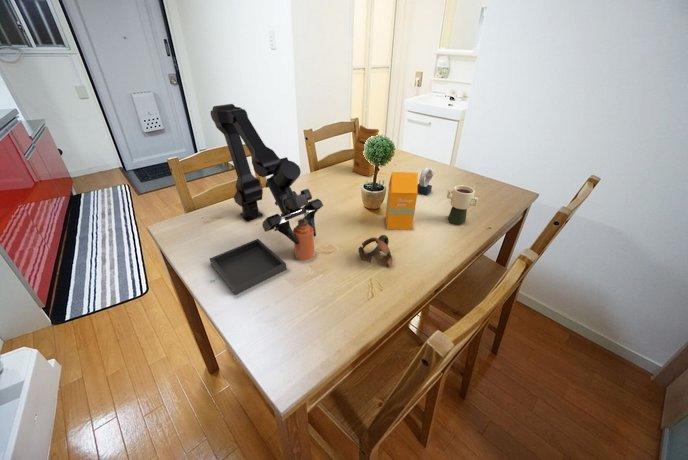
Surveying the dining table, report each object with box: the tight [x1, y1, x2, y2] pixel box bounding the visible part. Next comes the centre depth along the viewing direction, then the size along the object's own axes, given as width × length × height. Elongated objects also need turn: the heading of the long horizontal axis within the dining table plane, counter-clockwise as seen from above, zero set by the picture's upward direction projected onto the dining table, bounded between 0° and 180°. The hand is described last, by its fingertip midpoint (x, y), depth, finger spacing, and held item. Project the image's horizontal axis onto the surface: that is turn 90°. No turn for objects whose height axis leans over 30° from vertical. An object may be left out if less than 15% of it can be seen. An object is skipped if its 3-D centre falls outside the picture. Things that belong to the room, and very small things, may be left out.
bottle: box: [292, 218, 316, 261], centre depth 91 cm, size 6×6×12 cm
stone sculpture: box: [417, 167, 435, 196], centre depth 130 cm, size 6×8×11 cm
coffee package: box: [352, 124, 380, 177], centre depth 146 cm, size 10×12×22 cm
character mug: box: [446, 184, 479, 225], centre depth 109 cm, size 11×7×13 cm, turn 52°
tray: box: [209, 238, 288, 296], centre depth 88 cm, size 17×16×3 cm
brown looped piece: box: [358, 234, 393, 268], centre depth 92 cm, size 12×10×8 cm
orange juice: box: [385, 171, 419, 230], centre depth 105 cm, size 8×9×20 cm
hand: (306, 240), depth 90 cm, fingers closed on bottle, 6 cm apart
